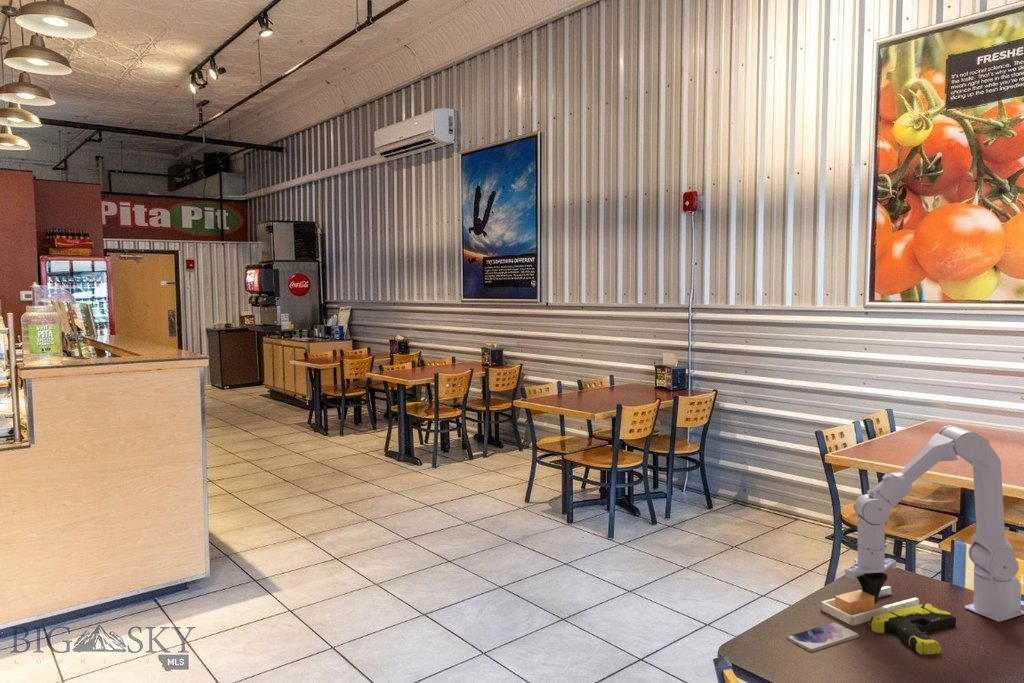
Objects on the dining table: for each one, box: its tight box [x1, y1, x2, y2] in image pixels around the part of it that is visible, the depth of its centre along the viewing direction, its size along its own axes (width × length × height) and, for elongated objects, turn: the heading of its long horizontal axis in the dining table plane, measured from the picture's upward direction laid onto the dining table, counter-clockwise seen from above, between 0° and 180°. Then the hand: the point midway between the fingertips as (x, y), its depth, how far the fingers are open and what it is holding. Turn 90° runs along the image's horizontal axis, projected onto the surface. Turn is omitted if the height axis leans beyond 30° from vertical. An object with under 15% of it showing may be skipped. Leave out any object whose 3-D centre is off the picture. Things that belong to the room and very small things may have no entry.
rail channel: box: [878, 585, 920, 613], centre depth 164 cm, size 11×8×2 cm
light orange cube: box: [848, 589, 875, 613], centre depth 161 cm, size 4×4×4 cm
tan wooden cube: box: [834, 592, 862, 615], centre depth 159 cm, size 4×4×4 cm
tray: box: [820, 597, 886, 626], centre depth 160 cm, size 11×9×2 cm
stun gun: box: [867, 603, 957, 656], centre depth 149 cm, size 3×19×15 cm
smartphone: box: [786, 622, 860, 653], centre depth 149 cm, size 7×1×15 cm
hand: (870, 602), depth 162 cm, fingers closed
